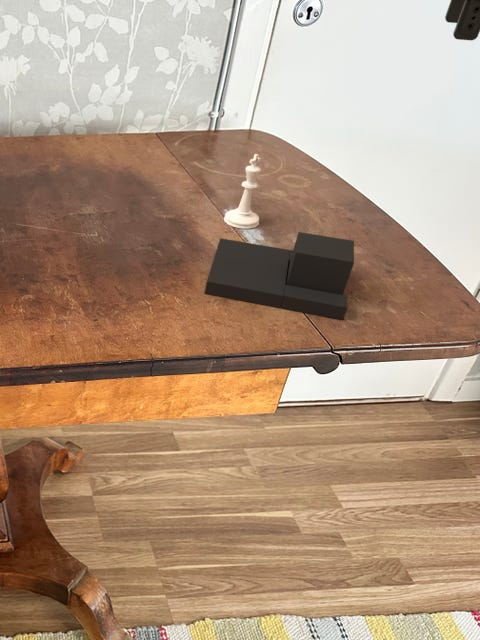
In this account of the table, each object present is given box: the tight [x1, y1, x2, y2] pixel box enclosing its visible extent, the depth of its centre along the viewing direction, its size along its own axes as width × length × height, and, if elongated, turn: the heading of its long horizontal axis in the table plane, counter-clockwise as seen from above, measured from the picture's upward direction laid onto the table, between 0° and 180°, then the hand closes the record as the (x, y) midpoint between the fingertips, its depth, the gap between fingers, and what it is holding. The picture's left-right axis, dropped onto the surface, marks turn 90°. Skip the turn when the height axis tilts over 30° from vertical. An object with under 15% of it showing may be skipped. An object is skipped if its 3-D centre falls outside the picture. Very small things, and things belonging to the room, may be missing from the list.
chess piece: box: [223, 153, 262, 230], centre depth 99 cm, size 5×5×10 cm
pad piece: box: [286, 231, 355, 295], centre depth 86 cm, size 6×6×6 cm
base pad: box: [204, 237, 348, 321], centre depth 88 cm, size 16×12×2 cm
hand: (459, 30), depth 77 cm, fingers open, 8 cm apart
